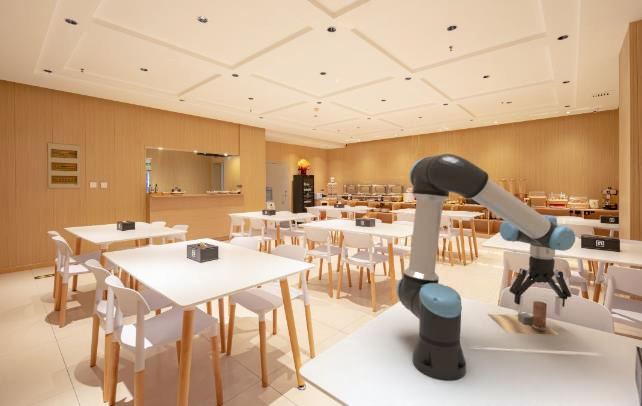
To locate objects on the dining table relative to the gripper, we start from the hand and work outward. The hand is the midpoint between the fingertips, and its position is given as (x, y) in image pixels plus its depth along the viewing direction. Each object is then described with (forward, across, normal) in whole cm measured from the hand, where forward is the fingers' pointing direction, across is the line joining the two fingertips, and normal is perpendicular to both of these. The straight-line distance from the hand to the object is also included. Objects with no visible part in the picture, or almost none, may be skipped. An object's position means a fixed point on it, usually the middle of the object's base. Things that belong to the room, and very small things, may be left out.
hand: (538, 313), depth 113 cm
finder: (+6, 0, +6) cm, 8 cm away
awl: (+6, 0, 0) cm, 6 cm away
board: (+7, -3, +5) cm, 9 cm away
